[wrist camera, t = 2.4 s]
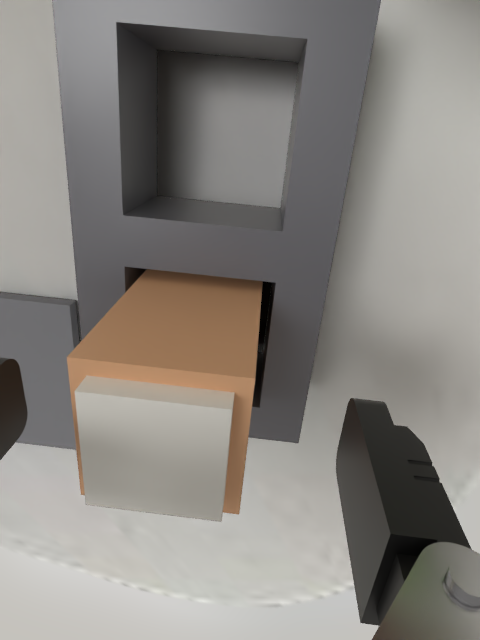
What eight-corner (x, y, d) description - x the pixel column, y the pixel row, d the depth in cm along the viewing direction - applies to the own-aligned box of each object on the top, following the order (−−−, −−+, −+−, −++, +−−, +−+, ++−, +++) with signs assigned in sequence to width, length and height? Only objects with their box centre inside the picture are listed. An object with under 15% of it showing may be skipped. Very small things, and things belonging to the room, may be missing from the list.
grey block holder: (123, 364, 19) (88, 418, 16) (108, -6, 13) (47, -55, 10) (293, 383, 19) (298, 443, 16) (355, 15, 13) (386, -28, 10)
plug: (165, 334, 19) (70, 514, 10) (166, 247, 17) (52, 372, 8) (254, 344, 18) (237, 535, 10) (264, 257, 17) (253, 395, 8)
